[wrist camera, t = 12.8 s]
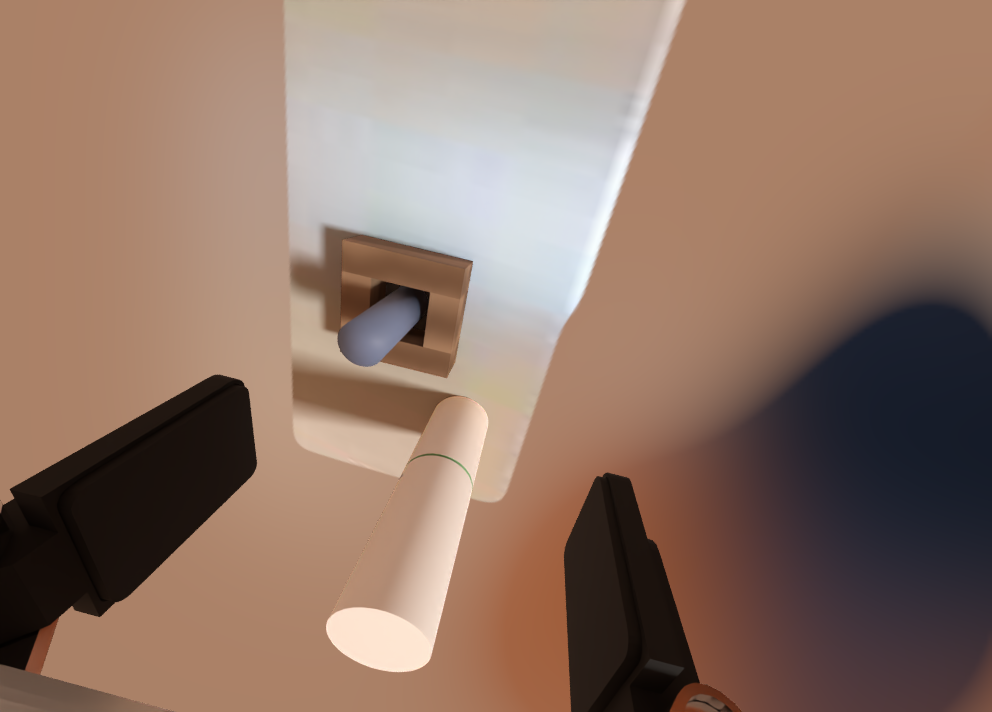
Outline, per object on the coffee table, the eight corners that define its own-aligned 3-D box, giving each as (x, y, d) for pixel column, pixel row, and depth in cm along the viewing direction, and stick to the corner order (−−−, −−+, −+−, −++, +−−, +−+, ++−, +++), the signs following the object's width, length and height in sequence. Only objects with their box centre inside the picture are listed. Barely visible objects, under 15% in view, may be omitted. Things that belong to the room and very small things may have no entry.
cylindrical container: (425, 427, 47) (315, 644, 25) (446, 386, 44) (342, 592, 22) (473, 451, 48) (409, 683, 25) (497, 412, 45) (448, 637, 22)
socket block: (361, 234, 38) (342, 239, 34) (473, 261, 37) (465, 269, 34) (357, 337, 43) (340, 351, 39) (455, 362, 43) (446, 378, 39)
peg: (395, 280, 39) (337, 316, 29) (430, 289, 39) (386, 328, 28) (392, 314, 41) (337, 360, 30) (426, 322, 41) (383, 371, 30)
